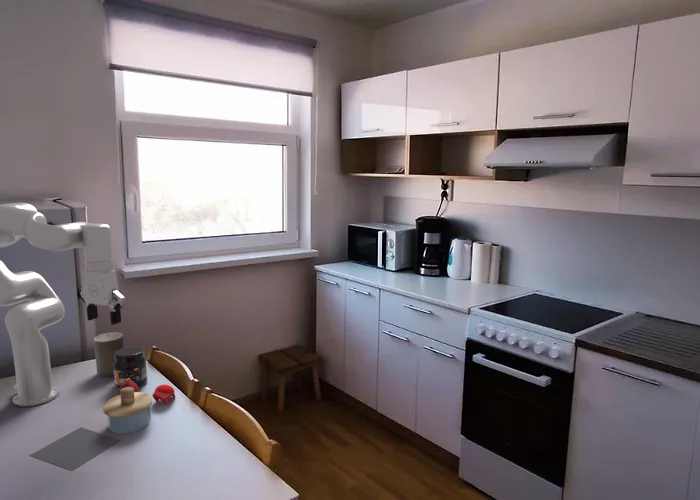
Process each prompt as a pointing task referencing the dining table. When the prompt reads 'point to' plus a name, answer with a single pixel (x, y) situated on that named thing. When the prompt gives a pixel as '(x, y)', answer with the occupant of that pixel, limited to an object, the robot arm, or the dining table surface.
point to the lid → (127, 403)
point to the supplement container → (130, 366)
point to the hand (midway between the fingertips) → (104, 321)
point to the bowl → (129, 422)
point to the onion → (129, 385)
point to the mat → (75, 448)
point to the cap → (163, 393)
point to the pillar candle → (107, 352)
